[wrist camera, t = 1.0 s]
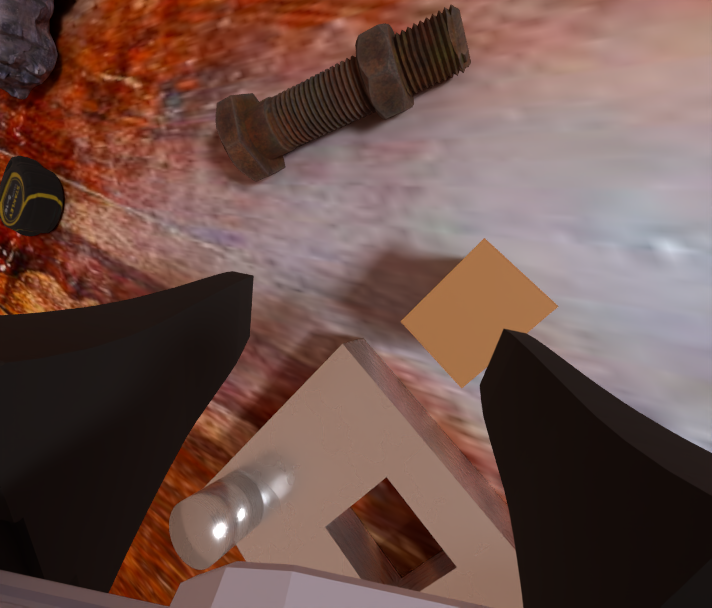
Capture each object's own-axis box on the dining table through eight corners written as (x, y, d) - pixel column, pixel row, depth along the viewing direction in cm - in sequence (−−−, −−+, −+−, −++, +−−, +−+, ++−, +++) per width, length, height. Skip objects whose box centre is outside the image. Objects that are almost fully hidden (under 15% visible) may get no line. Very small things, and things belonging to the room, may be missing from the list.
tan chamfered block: (551, 302, 20) (558, 306, 15) (479, 364, 22) (461, 388, 17) (496, 251, 22) (484, 238, 16) (431, 314, 23) (400, 321, 18)
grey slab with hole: (551, 557, 21) (560, 673, 14) (360, 670, 26) (304, 793, 19) (363, 338, 25) (305, 353, 19) (232, 471, 30) (152, 519, 24)
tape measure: (47, 160, 40) (2, 147, 37) (80, 189, 38) (36, 179, 35) (29, 217, 42) (-15, 210, 39) (60, 249, 40) (15, 244, 36)
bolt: (475, 85, 24) (277, 169, 29) (453, -10, 22) (245, 101, 27) (478, 88, 19) (240, 189, 25) (450, -34, 17) (198, 107, 23)
